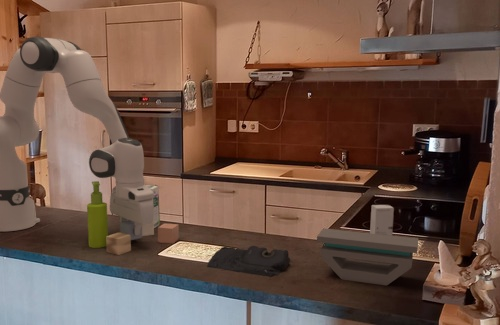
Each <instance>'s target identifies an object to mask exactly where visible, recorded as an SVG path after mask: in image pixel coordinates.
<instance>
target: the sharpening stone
mask: <svg viewBox="0 0 500 325" xmlns="http://www.w3.org/2000/svg"><path fill="white" fill-rule="evenodd" d="M316 242H317V243H322V244H323V243H324V244H323V245H322V246H321V248H320V258H321V259H322V260H323V261H324V262H325V263H326V264H327V266H329V268H331V270H332V271H333V272H334V273H335V274H336V275H337V276H338V277H339V278H340V279H341V280H344V281H352V282H357V283H358V282H360V283H366V284H374V285H381V286H388V285H390V284H391V283H392V282H394V281H395V280H397V279H398V278H400V277H401V276H403V275H404V274H405V273H407V272H408V271H410V270H411V269H412V265H413V259H414V254H418V248H419V238H418V237H411V236H410V237H408V236H401V235H400V236H399V235H393V234H392V235H382V234H372V233H370V232H362V231H361V232H360V231H351V230H343V229H342V230H341V229H334V228H333V229H332V228H322V229H321V231H320V232H318V234H317V236H316Z"/></svg>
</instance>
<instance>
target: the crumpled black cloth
mask: <svg viewBox="0 0 500 325" xmlns="http://www.w3.org/2000/svg"><path fill="white" fill-rule="evenodd" d="M289 264H290V256H289V250H287V249H276V248H273V249H272V250H271V251H270V252H268V249H267V247H262V246H261V247H258V246H256V245H250V246H249V247H248V248H247V249H242V248H236V247H230V246H223V247H220V248H219V249H218V250H217V251H215V253H214V254H213V255H212V256H211V258H210V259H209V260H208V263H207V265H206V266H207V267H209V268H212V269H219V270H224V271H228V272H229V271H230V272H236V273H243V274H247V275H248V274H249V275H255V276H262V277H268V278H271V277H273V276H279V275H280V273H282V272H283V271H284V270H286V269H287V268H288V267H289Z"/></svg>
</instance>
